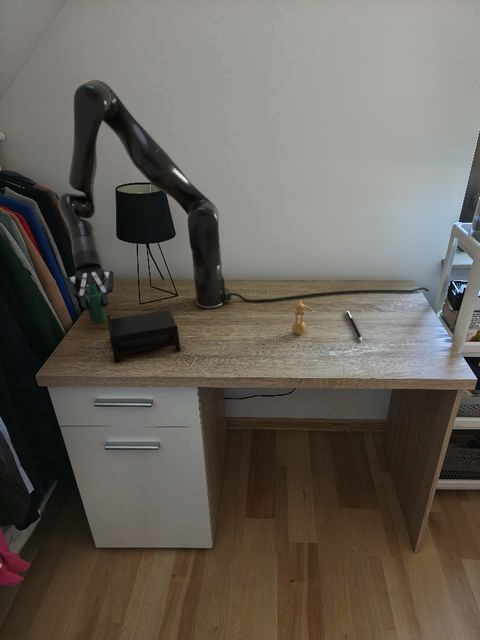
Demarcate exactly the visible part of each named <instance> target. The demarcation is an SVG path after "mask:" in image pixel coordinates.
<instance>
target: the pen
mask: <svg viewBox="0 0 480 640" xmlns="http://www.w3.org/2000/svg"><path fill="white" fill-rule="evenodd" d="M346 316H347V317H348V320H349V321H350V323H351V326H352V328H353V330H354V332H355V334H356V336H357V338H358V340H359V341H360V342H363V337H362V335H361V333H360V331H359V329H358V327H357V325H356V323H355V321H354V318H353V317H352V315H351V313H350V311H349V310H346Z"/></svg>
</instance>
